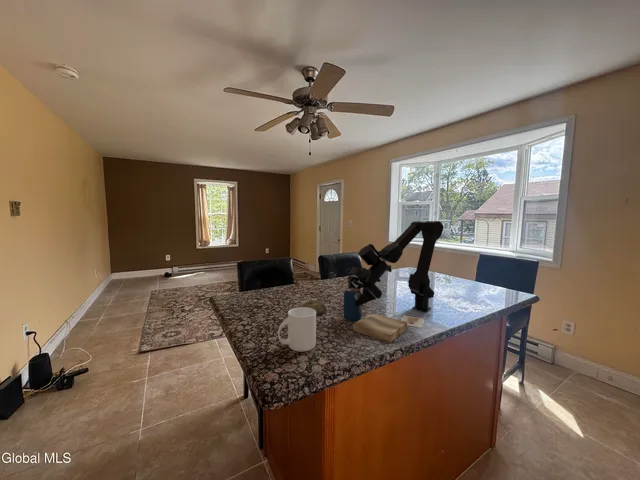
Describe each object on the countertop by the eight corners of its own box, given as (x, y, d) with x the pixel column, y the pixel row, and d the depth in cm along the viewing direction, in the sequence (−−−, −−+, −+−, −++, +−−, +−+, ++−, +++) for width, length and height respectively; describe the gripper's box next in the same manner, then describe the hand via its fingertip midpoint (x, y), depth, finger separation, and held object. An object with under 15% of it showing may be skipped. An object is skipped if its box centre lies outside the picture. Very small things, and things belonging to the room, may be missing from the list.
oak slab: (372, 319, 102) (372, 313, 102) (407, 328, 93) (407, 321, 93) (353, 330, 91) (353, 323, 91) (390, 342, 82) (390, 334, 82)
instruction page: (404, 315, 106) (404, 315, 106) (425, 319, 102) (425, 318, 102) (398, 323, 98) (398, 323, 98) (421, 328, 94) (421, 327, 94)
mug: (273, 344, 81) (273, 311, 80) (309, 337, 86) (309, 305, 85) (282, 357, 73) (282, 320, 72) (320, 348, 78) (320, 313, 78)
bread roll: (314, 319, 102) (314, 307, 102) (291, 313, 110) (291, 301, 110) (332, 311, 113) (332, 299, 112) (310, 305, 120) (310, 294, 120)
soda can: (364, 321, 100) (364, 291, 99) (347, 323, 98) (347, 292, 97) (356, 315, 106) (357, 286, 105) (340, 317, 104) (341, 287, 104)
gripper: (351, 256, 111) (327, 283, 107) (375, 262, 93) (347, 295, 90) (367, 273, 114) (344, 300, 111) (393, 282, 96) (367, 315, 93)
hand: (349, 302), depth 101 cm, fingers open, 9 cm apart
